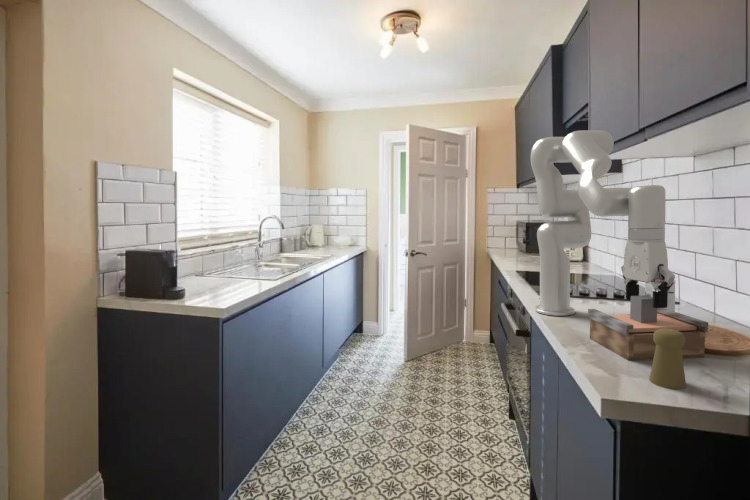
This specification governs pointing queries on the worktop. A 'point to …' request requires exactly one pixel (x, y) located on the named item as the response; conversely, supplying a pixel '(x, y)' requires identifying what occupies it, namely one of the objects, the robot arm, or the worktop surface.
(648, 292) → the syrup box
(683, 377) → the cork
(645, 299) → the lid
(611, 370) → the worktop surface
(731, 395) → the worktop surface
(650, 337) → the box
